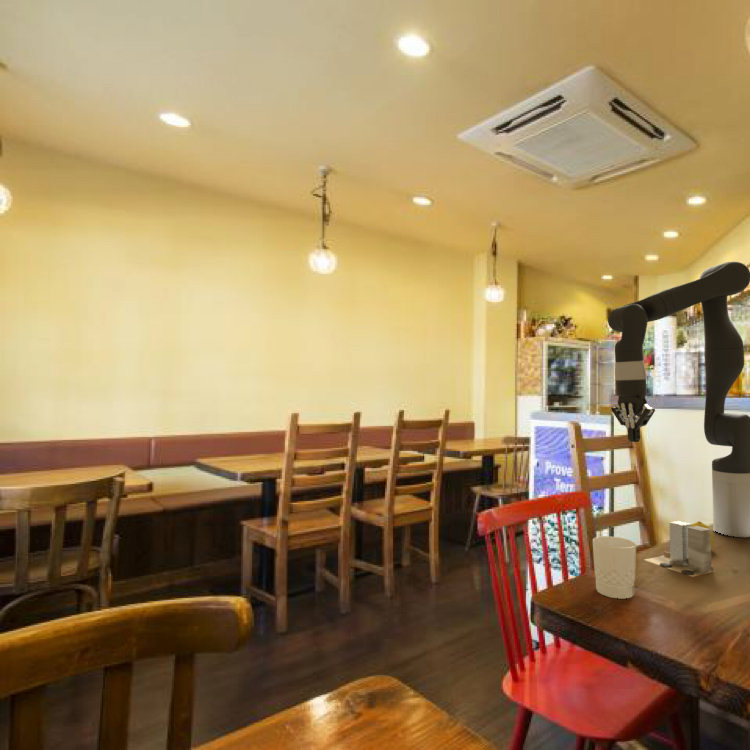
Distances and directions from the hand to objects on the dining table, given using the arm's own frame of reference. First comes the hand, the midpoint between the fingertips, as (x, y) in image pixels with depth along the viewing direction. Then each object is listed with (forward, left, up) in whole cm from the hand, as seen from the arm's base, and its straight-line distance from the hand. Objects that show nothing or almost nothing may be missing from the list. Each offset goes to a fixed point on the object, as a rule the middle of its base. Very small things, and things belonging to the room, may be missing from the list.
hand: (634, 441), depth 140 cm
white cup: (+36, +25, -26) cm, 51 cm away
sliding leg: (+12, +22, -25) cm, 35 cm away
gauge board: (+13, +22, -26) cm, 36 cm away
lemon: (-2, +17, -26) cm, 31 cm away
